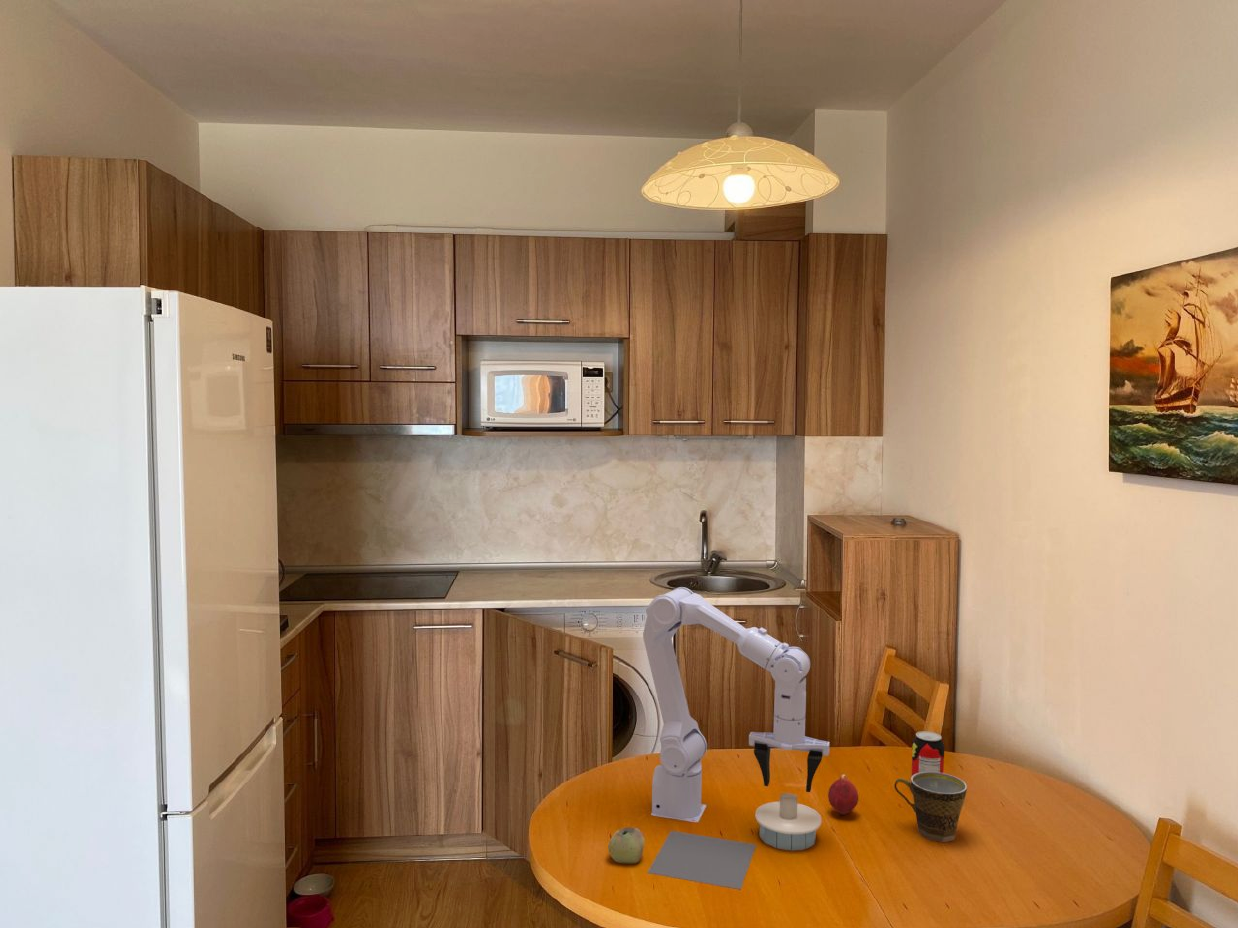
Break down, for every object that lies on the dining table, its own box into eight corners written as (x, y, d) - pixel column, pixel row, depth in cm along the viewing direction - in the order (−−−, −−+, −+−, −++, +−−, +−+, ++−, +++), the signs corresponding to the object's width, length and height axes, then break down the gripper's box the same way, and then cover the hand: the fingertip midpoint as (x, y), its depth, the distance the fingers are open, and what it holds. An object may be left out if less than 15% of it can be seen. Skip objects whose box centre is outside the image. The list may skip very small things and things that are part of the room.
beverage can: (945, 789, 189) (947, 734, 188) (938, 800, 184) (940, 743, 183) (915, 782, 193) (917, 727, 192) (907, 793, 187) (909, 736, 186)
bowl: (756, 847, 163) (756, 826, 163) (764, 823, 173) (765, 803, 172) (812, 856, 160) (812, 834, 160) (817, 831, 170) (818, 811, 169)
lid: (750, 827, 162) (750, 805, 162) (760, 800, 174) (761, 779, 173) (817, 838, 159) (818, 815, 158) (824, 809, 170) (824, 788, 170)
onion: (858, 822, 174) (859, 782, 173) (827, 819, 175) (829, 779, 174) (856, 809, 179) (858, 770, 179) (827, 806, 180) (828, 767, 180)
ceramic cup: (966, 827, 172) (968, 777, 171) (963, 851, 163) (965, 797, 162) (896, 814, 177) (898, 765, 177) (889, 836, 168) (890, 784, 168)
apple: (657, 866, 156) (657, 833, 156) (613, 872, 154) (613, 839, 154) (647, 850, 162) (647, 818, 162) (604, 855, 160) (604, 823, 159)
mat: (647, 875, 153) (647, 872, 153) (671, 833, 168) (671, 830, 168) (740, 892, 148) (740, 889, 148) (756, 847, 163) (756, 844, 163)
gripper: (746, 717, 164) (744, 789, 165) (827, 727, 159) (825, 801, 160) (753, 705, 170) (751, 774, 171) (831, 714, 166) (829, 785, 167)
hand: (787, 786), depth 166 cm, fingers open, 7 cm apart
